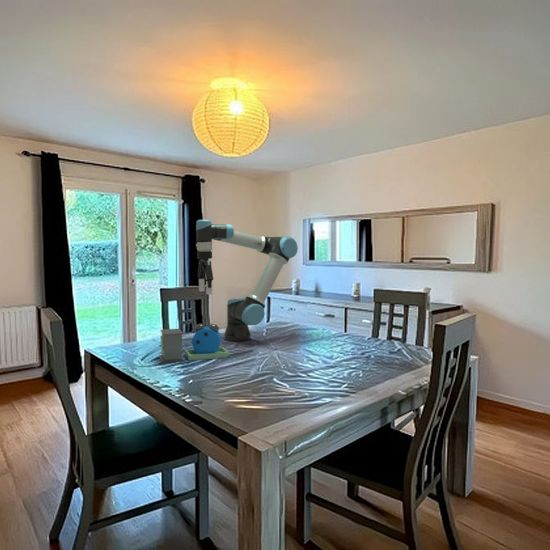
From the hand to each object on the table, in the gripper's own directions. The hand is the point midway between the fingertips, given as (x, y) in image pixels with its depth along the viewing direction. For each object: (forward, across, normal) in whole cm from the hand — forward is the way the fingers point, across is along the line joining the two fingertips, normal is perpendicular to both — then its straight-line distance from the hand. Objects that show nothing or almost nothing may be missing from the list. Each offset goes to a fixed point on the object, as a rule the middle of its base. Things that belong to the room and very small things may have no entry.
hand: (205, 292), depth 208 cm
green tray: (+29, +14, -4) cm, 32 cm away
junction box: (+28, +13, -20) cm, 37 cm away
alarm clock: (+28, +14, -4) cm, 32 cm away
